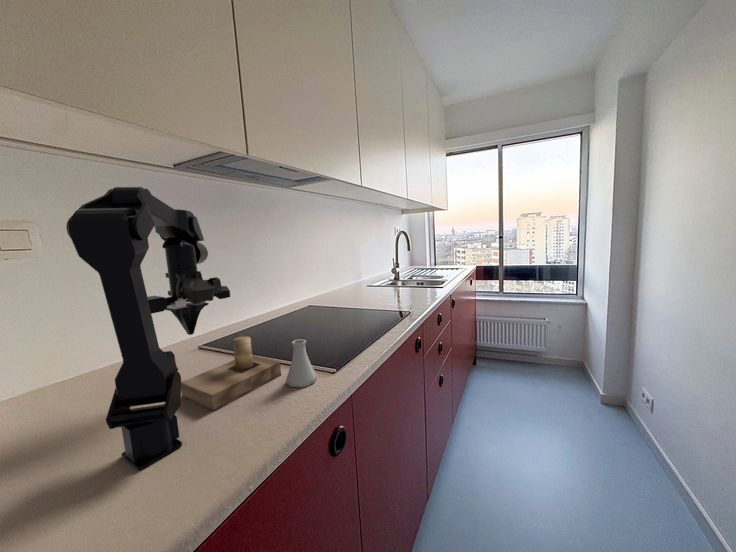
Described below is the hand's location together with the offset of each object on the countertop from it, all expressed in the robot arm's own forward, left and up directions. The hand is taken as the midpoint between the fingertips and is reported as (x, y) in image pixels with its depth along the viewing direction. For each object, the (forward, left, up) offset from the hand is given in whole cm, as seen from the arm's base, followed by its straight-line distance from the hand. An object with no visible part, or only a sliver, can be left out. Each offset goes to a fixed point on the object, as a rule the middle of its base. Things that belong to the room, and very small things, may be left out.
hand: (190, 334), depth 71 cm
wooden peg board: (+5, -8, -13) cm, 16 cm away
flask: (+14, -21, -13) cm, 28 cm away
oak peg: (+8, -8, -12) cm, 17 cm away
